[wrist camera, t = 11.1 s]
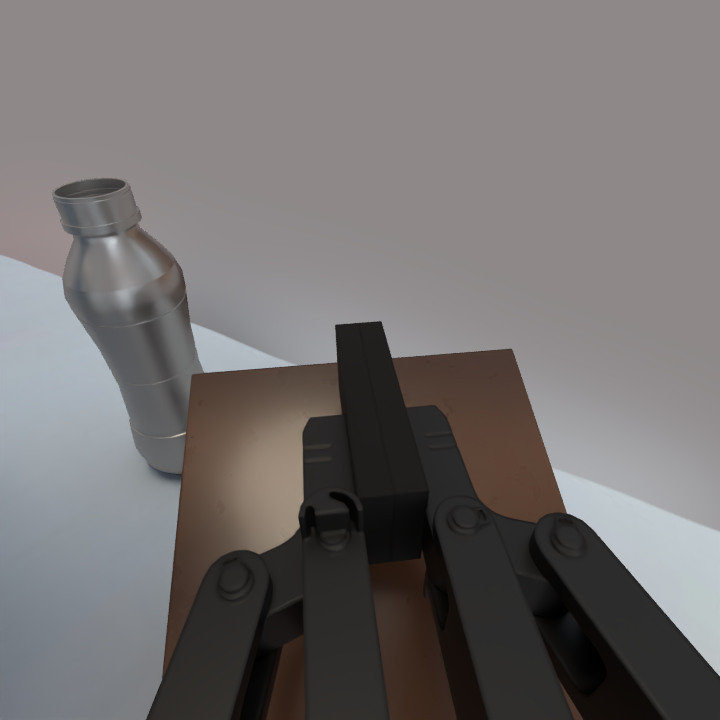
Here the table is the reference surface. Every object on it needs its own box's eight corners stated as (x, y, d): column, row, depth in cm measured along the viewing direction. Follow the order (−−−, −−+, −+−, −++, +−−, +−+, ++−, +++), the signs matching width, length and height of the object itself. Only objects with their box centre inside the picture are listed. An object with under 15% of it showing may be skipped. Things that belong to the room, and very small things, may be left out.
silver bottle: (175, 502, 31) (48, 221, 19) (129, 453, 35) (-3, 190, 22) (249, 448, 35) (184, 185, 23) (201, 409, 38) (121, 163, 26)
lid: (196, 382, 18) (190, 373, 17) (506, 357, 19) (512, 347, 18) (133, 1092, 9) (116, 1128, 9) (705, 977, 10) (731, 1002, 10)
